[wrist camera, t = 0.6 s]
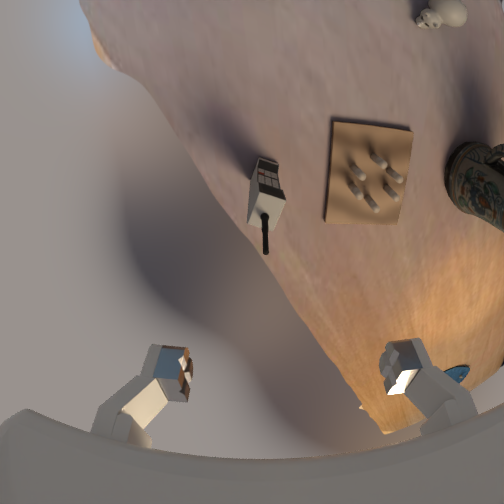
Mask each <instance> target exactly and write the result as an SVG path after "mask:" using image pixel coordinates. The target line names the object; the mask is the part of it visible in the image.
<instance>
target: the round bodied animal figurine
mask: <svg viewBox="0 0 504 504" xmlns="http://www.w3.org/2000/svg"><path fill="white" fill-rule="evenodd" d="M428 6H429V7H430V8H431V9H424V10H422V11H421V14H420V16H419V17H417V18H416V20H415V21H416V24H417V26H419V27H420V28H421V29H427V28H434V29H436V28H439V27H440V26H441V24H442V23H443V24H445V25H447V26H451V27H459V26H462V25H463V24H464V23H465V22H466V20H467V10H466V6H465V5H464V4H463V3H462V2H461V1H460V0H429V1H428Z"/></svg>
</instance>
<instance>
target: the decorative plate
mask: <svg viewBox="0 0 504 504" xmlns="http://www.w3.org/2000/svg"><path fill="white" fill-rule="evenodd" d="M469 370H470V368H468V367H454V368H453V369H450V370H448V371H446V372H444V373H446V374H447V375H448V376H450V377H451V378H452V379H453V380H455V381H456V382H457V383H460V382H462V380H463V379H464V378H465V377H466V375H467V374H468V372H469Z"/></svg>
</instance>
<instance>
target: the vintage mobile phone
mask: <svg viewBox="0 0 504 504" xmlns="http://www.w3.org/2000/svg"><path fill="white" fill-rule="evenodd" d="M278 169H279V164H278V163H275V162H272V161H269V160H266V159H263V158H260V157H259V158H258V161H257V164H256V167H255V170H254V172H253V175H252V178H251V181H250V191H249V203H248V214H247V224H249V225H253V226H256V227H259V228H262V232H263V254H264V255H268V253H269V248H268V230H269V231H274V228H275V226H276V224H277V221H278V219H279V217H280V214H281V212H282V209H283V207H284V205H285V202H286V198H285V195H284V192H283V190H281V189H280V183H279V178H278Z"/></svg>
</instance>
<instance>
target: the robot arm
mask: <svg viewBox="0 0 504 504" xmlns="http://www.w3.org/2000/svg"><path fill="white" fill-rule="evenodd" d="M385 349H386V351H385V352H384V353H382V355H381V357H380V361H379V368H380V372H381V375H382V376H384V377H385V380H384V386H385V390H386V393H387V395H391V394H397V393H403V392H404V394H405V395H406V396H407V397H408V398H409V399H410V401H411V402H412V403H413V404H414V405H415V406H416V407H417V408H418V409H419V410H420V411H421V412H422V413H423V414H424V415H425V416H426V418H427V419H428V420H427V421H426V422H425V423H424V424H422V425H421V427H420V431H421V435H422V436H419V437H416V438H413V439H409V440H405V441H402V442H398V443H394V444H389V445H385V446H380V447H376V448H371V449H366V450H360V451H355V452H348V453H341V454H334V455H326V456H317V457H304V458H287V459H233V458H218V457H207V456H197V455H189V454H181V453H175V452H167V451H162V450H157V449H151V444H152V439H151V438H150V436H149V435H148V434H147V433H146V432H145V431H144V430H143V429H144V428H145V427H146V426H147V425H148V424H149V423H150V421H151V420H152V419H153V418H154V417H155V416H156V415H157V414H158V413H159V412H160V410H161V409H162V408H163V407H164V406H165V405H166V404H167V403H168V401H176V402H188V397H189V393H190V387H189V385H188V383H189V382H190V381H191V380H192V376H193V363H192V359H191V358H189V350H188V348H186V347H175V346H166V345H156V344H152V345H151V346H150V347H149V350H148V353H147V356H146V359H145V362H144V365H143V368H142V371H141V374H140V376H136V377H134V378H133V379H132V380H131V381H130V382H128V383H127V384H126V385H125V386H123V387H122V388H121V389H120V390H119V391H117V392H116V393H115V394H114V395H113V396H111V397H110V398H109V399H108V400H107V401H105V402H104V403H103V404H102V405H100V406H99V408H98V411H97V414H96V417H95V420H94V423H93V426H92V429H91V432H90V433H89V432H86V431H83V430H80V429H77V428H75V427H72V426H69V425H66V424H64V423H61V422H58V421H56V420H54V419H51V418H49V417H46V416H44V415H42V414H40V413H37V412H35V411H33V410H30V409H24V410H22V411H20V412H18V413H16V414H15V415H13V416H11V417H10V418H8V419H7V420H6V421H4V422H3V423H2V424H1V426H0V504H504V403H502V404H500V405H498V406H496V407H494V408H492V409H490V410H488V411H486V412H484V413H481V414H479V415H478V412H477V409H476V407H475V404H474V402H473V399H472V397H471V394H470V392H469V391H468V390H466V389H465V388H464V387H462V386H461V385H460V384H459V383H457V382H456V381H455V380H453V379H452V378H451V377H450V376H448V375H447V374H446V373H444V372H443V371H442V370H441V369H439V368H438V367H437V366H433V365H432V362H431V360H430V358H429V356H428V353H427V351H426V349H425V347H424V345H423V343H422V340H421V339H420V338H413V339H405V340H398V341H391V342H388V343H387V344H386V346H385Z"/></svg>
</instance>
